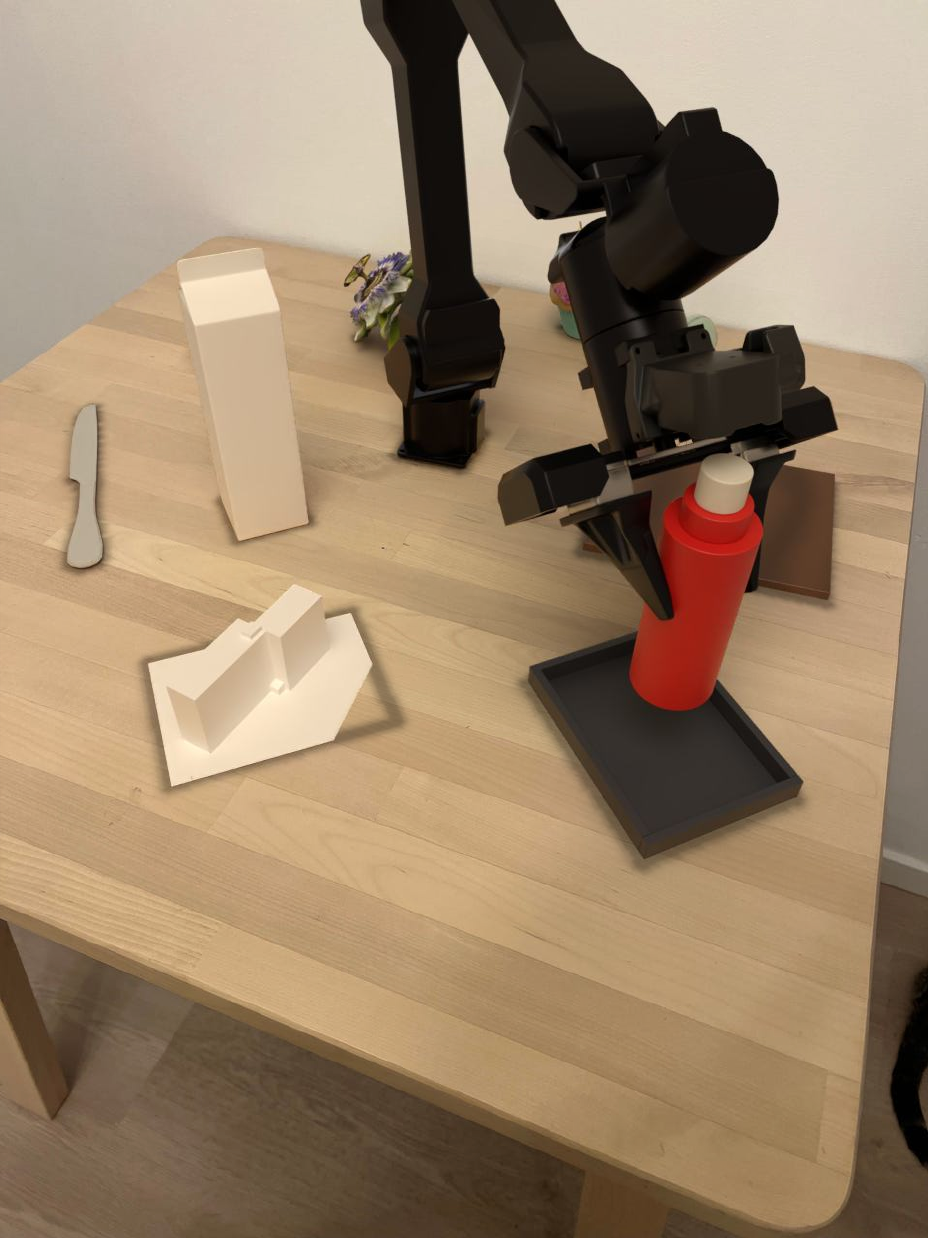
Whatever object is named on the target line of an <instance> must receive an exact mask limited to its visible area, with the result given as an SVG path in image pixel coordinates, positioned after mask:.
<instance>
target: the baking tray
mask: <svg viewBox="0 0 928 1238" xmlns="http://www.w3.org/2000/svg"><path fill="white" fill-rule="evenodd" d="M637 634H638V630H636V631H633V632H631V633H627V634H624V635H621V636H618V637H615V638H612V639H609V640H606V641H602V642H600V643H597V644H593V645H590V646H588V647H585V648H581V649H579V650H575V651H572V652H568V653H565V654H563V655H560V656H557V657H553V658H550V659H547V660H543V661H541V662H538V663H535V664H532V665H530V666H529V667H528V678H527V682H528V684H529V685H530V687H531V689H532V690H533V691H534V693H535V694H536V696H537V697H538V699H539V700H540V702H541V704H542V705H543V707H544V708H545V711H546V712H547V713H548V715H549V716H550V718H551V719H552V721H553V722H554V724H555V725H556V727H557V728H558V730H559V731H560V733H561V734H562V736H563V738H564V739H565V740H566V742H567V744H568V746H569V747H570V748H571V750H572V751H573V753H574V755H575V756H576V757H577V759H578V761H579V762H580V764H581V765H582V767H583V768H584V770H585V771H586V773H587V774H588V776H589V778H590V779H591V781H592V782H593V784H594V785H595V787H596V788H597V790H598V791H599V793H600V794H601V796H602V797H603V799H604V801H605V802H606V804H607V805H608V806H609V808H610V810H611V811H612V813H613V814H614V816H615V817H616V819H617V821H618V822H619V824H620V825H621V827H622V828H623V829H624V831H625V833H626V834H627V836H628V838H629V839H630V840H631V842H632V844H633V845H634V847H635V848H636V850H637V851H638V853H639V854H640V856H641V857H642V859H643V860H646V859H648V858H651V857H653V856H655V855H658V854H661V853H663V852H666V851H668V850H670V849H672V848H675V847H677V846H680V845H682V844H684V843H687V842H690V841H693V840H694V839H697V838H699V837H702V836H704V835H706V834H709V833H711V832H714V831H717V830H719V829H721V828H724V827H726V826H728V825H731V824H733V823H736V822H738V821H741V820H743V819H746V818H748V817H750V816H753V815H756V814H758V813H761V812H763V811H766V810H768V809H770V808H772V807H775V806H777V805H780V804H782V803H785V802H787V801H790V800H792V799H794V798H797V797H798V795H799V793H800V791H801V789H802V787H803V785H804V780H803V779H802V778H801V776H800V775H799V774H798V773H797V772H796V771H795V769H794V768H793V767H792V766H791V764H790V763H789V762H788V761H787V760H786V758H785V757H784V756H783V755H782V754H781V752H779V750H778V749H777V748H776V747H775V746H774V745H773V743H772V742H771V740H769V738H768V737H767V736H766V735H765V733H763V731H762V730H761V728H759V726H758V725H757V724H756V723H755V721H754V720H752V718H751V717H750V716H749V715H748V714H747V712H746V711H745V710H744V709H743V708H742V706H741V705H740V704H739V703H738V702H737V700H735V698H734V697H733V695H731V694H730V692H729V691H728V690H727V688H726V687H725V686H724V685H723V684H722V683H721V682H720V680H719V679H718V678H717V680H716V683H715V686H714V689H713V692H712V694H711V696H710V697H709V699H708V700H707V701H706V702H705V703H703V704H702V705H700V706H698V707H696V708H693V709H690V710H683V711H674V710H667V709H663V708H660V707H657V706H655V705H653V704H651V703H649V702H647V701H646V700H644V699H643V698H642V697H641V696H640V695H639V694H638V693H637V692H636V690H635V689H634V687H633V686H632V683H631V681H630V675H629V672H630V666H631V661H632V657H633V652H634V647H635V643H636V638H637Z"/></svg>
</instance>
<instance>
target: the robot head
mask: <svg viewBox="0 0 928 1238" xmlns="http://www.w3.org/2000/svg"><path fill="white" fill-rule="evenodd" d="M686 319H687V323H688V327H690V326H694V325H699V324H704V328H705V329H706V330H707V331H708V332H709V334H710V337H711V341H712V345H713V347H714V349H715V350H716V347H717V344H718V330H717V326H716V324H715V323H714V321H713V319H712V318H710V317H708V316H706V315H704V314H701V313H699V314H692V315H690V316H687V317H686Z"/></svg>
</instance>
